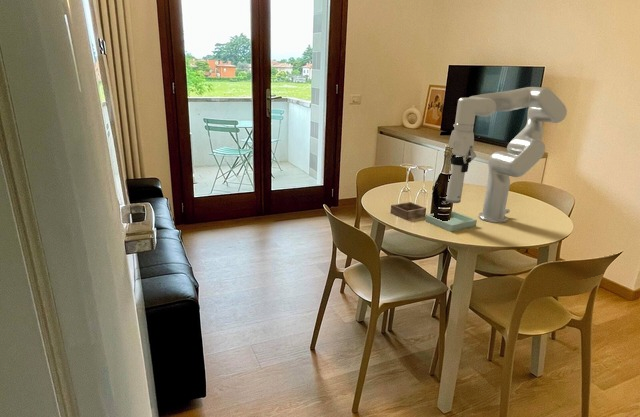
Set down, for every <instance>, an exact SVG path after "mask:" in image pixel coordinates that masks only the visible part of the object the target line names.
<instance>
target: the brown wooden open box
mask: <svg viewBox="0 0 640 417" xmlns="http://www.w3.org/2000/svg"><path fill="white" fill-rule="evenodd" d="M390 214H392V215H393V216H396V217H397V218H401V219H403V220H405V221H409V220H413V219H420V218H424V217H425V218H426V215H427V207H424V206H421V205H419V204H416V203H414V202H411V201H407V202H401V203H396V204H392V205H390Z"/></svg>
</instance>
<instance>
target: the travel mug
mask: <svg viewBox="0 0 640 417" xmlns="http://www.w3.org/2000/svg"><path fill="white" fill-rule="evenodd" d="M466 159H467V157H466ZM451 161H452V162H451V171H450V170H449V173H450V174H452V175H451V176H450V179H449V178H448V181H449V182H448V181H447V188H446V189H447V190H446V195H447V196H445V201H446V202H447V203H450V204H459V203H461V199H462V194H463V189H464V188H463V187H464V182H465V174H466V172H461V170H462V163H464V160H463V157H462V156H456V157H453V158H452V160H451Z"/></svg>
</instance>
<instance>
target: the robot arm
mask: <svg viewBox="0 0 640 417" xmlns="http://www.w3.org/2000/svg"><path fill="white" fill-rule="evenodd" d="M525 108H528V109H527V117H526V118H527V120H526V123H525V124H526V125H525V126H524V127H523V129H522V130H521V131H519V132H518V133H517V135H515V136H514V138H512V139H511V140H510V142H509V143H508V144H507V146H506V150H507V151H502V150H500V151H495V152H493V153H492V154H491V155H490V156H489V158H488V162H487V163H488V165H487V168H488V176H487V184H486V190H485V195H484V200H483V202H484V203H483V208H482V212H479V213H478V218H479V219H480V220H482V221H485V222H489V223H495V224H496V223H497V224H502V223H507V221H508V217H507V216H506V214H509V213H510V212H511V210H510V208H507V202H508V198H509V190H510V186H511V179H510V178H511V177H512V178H521V177H523V176H524V175H525V174H527V173H528V172H529V171H530V169H532V167H534V166H535V165H537V163H538V162H539V161H540V160H541V159H542V158H543V156H544V154H545V151H546V144H545V143H544V141H543V140H542V138H543V135H544V127H543V122H544V123H552V124H558V123H561V122H562V121H564V120H565V119H566V117H567V112H568V110H567V107H566V105H565V103H564V102H563V101H562V100H561V99H560V98H559V97H558V96H557V95H556V93H554V91H552V90H551V89H550V88H548V87H543V86H542V87H540V86H525V87H521V88H517V89H510V90H505V91H498V92H489V93H482V94H477V95H471V96H469V97H460V98H459V99H457V106H456V114H455V122H454V124H453V125H452V126H453V127H454V129H453V130H451V134H450V137H449V139H448V144H447V147H448V146H450V148H453V149H452V153H453V155H452V158H453V157H463V160H464V163H462V170H461V172H465V173H467V172H468V170H469V165H470V163H471V162H472V161H473V160H474V159H475V158H476V157H477V155H476V152H475V151H474V145H475V143H474V142H475V134H474V124H475V120H476V116H479V117H490V116H492V115H493V114H495V112H511V111H515V110H520V109H525ZM448 149H449V148H448ZM445 152H446V148H445ZM466 157H467V159H466ZM452 158H450V159H451V160H452ZM451 162H452V161H451Z"/></svg>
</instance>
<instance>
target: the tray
mask: <svg viewBox="0 0 640 417" xmlns="http://www.w3.org/2000/svg"><path fill="white" fill-rule="evenodd" d="M433 216H434V213H431V214H426V216H425V222H426V223H429V224H431V225H434V226H436V227H438V228H441V229H443V230H445V231H447V232H449V233H454V232H457V231H462V230H465V229H470V228H474V227H476V226H477V222H478V221H477V219H475V218H474V217H470V216H467V215H464V214H463V213H460V212H456V211H455V210H452V212H451V218H450V220H448V221H442V220H440V219H437V218H435V217H433Z"/></svg>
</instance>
